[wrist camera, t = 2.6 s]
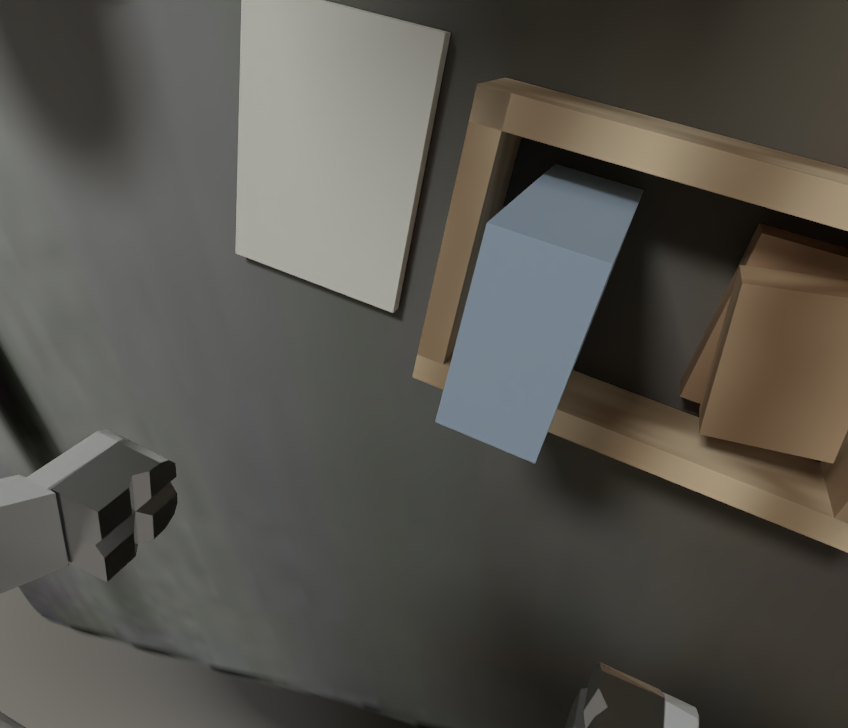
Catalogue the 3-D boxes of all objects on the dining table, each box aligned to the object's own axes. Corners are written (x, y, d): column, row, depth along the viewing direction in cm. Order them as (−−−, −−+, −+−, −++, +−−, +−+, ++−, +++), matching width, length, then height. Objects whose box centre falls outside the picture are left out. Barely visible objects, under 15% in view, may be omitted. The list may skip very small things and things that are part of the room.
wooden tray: (1048, 222, 19) (1108, 256, 16) (834, 495, 25) (850, 553, 22) (505, 77, 23) (477, 83, 20) (441, 343, 29) (412, 377, 27)
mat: (450, 32, 23) (445, 32, 23) (398, 308, 29) (392, 313, 29) (251, -19, 25) (242, -20, 25) (242, 250, 32) (235, 253, 31)
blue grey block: (643, 190, 23) (613, 264, 16) (582, 345, 27) (534, 463, 19) (555, 163, 24) (486, 222, 16) (508, 318, 28) (435, 421, 20)
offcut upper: (885, 284, 20) (900, 305, 18) (824, 433, 23) (833, 463, 21) (739, 264, 22) (742, 283, 20) (699, 407, 24) (699, 434, 23)
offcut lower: (906, 260, 21) (922, 279, 20) (804, 417, 25) (810, 443, 23) (758, 218, 22) (762, 233, 21) (681, 374, 26) (679, 396, 25)
